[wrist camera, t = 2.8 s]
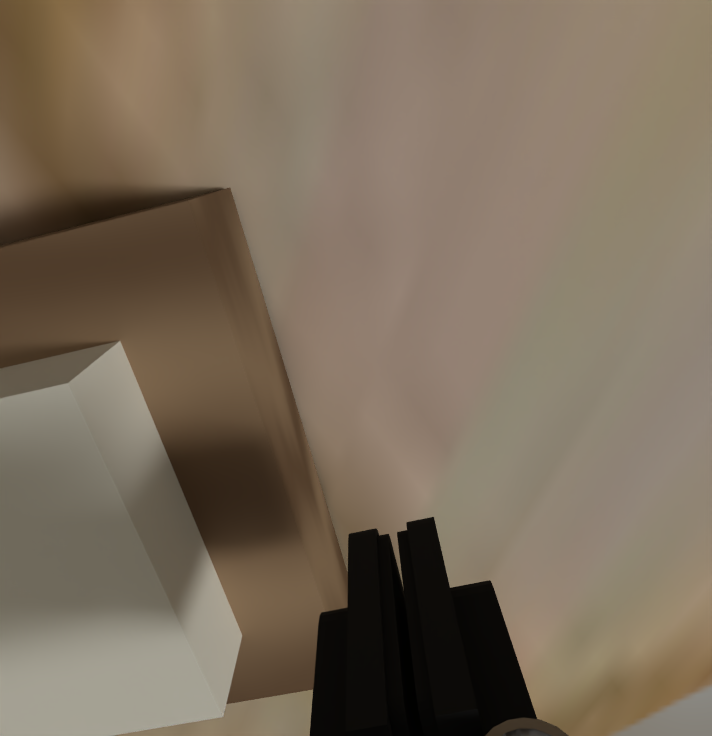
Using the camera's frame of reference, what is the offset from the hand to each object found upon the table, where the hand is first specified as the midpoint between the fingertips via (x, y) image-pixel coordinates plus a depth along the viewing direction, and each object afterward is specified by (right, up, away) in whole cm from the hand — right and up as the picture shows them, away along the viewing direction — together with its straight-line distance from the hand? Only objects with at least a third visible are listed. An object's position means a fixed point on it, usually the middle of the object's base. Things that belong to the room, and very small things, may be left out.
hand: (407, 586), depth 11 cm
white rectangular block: (-8, 0, +4) cm, 9 cm away
